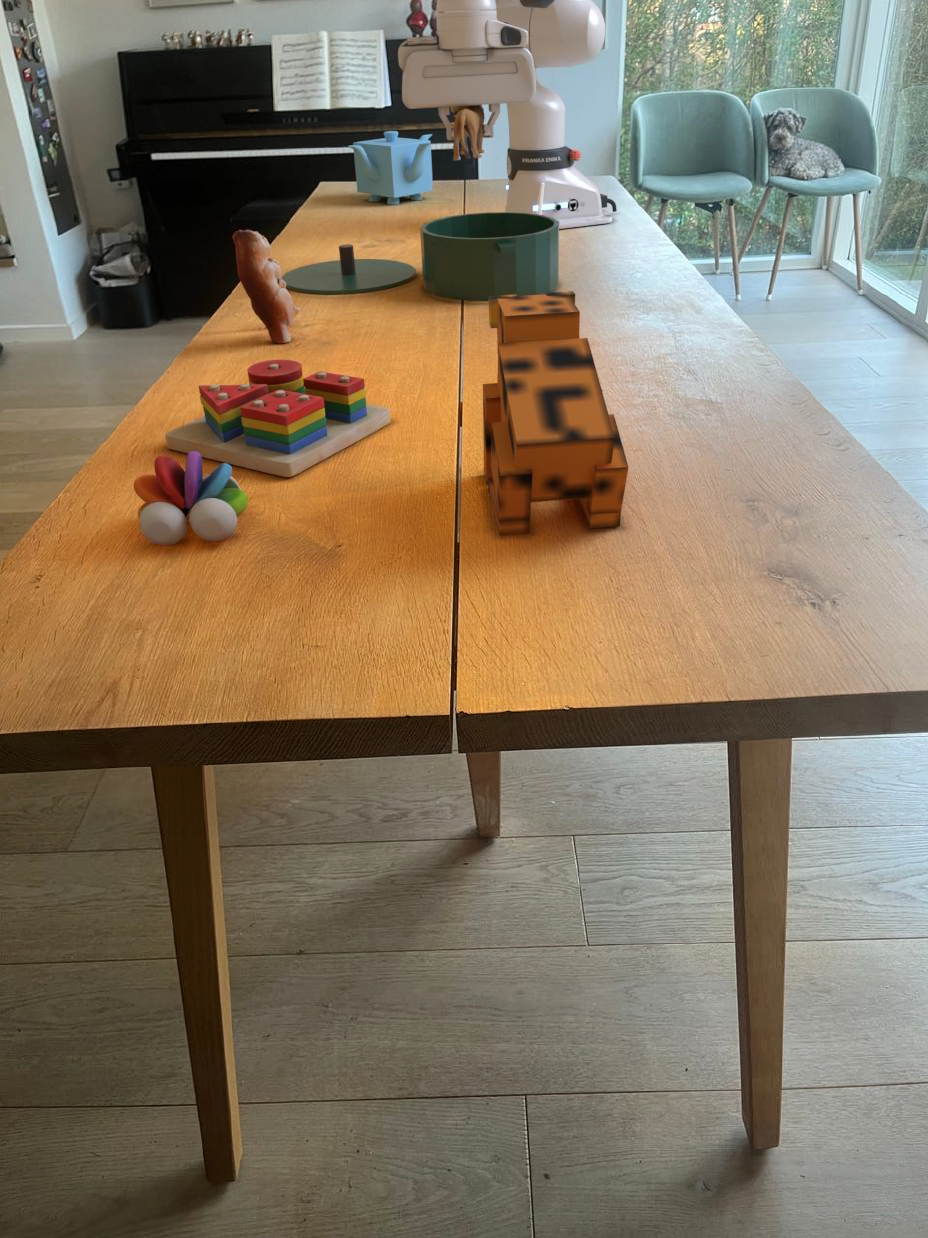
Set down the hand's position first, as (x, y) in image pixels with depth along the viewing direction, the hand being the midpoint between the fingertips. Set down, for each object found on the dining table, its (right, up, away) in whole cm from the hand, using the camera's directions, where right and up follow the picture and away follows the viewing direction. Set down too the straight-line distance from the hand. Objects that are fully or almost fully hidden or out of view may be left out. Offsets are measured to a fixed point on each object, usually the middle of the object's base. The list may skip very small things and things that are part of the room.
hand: (470, 138), depth 152 cm
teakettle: (-17, +25, +82) cm, 88 cm away
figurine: (-27, -35, -14) cm, 47 cm away
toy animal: (+7, -63, -60) cm, 87 cm away
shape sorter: (-21, -54, -45) cm, 74 cm away
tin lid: (-20, -17, +14) cm, 30 cm away
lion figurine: (-1, -2, +1) cm, 3 cm away
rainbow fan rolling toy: (-25, -66, -64) cm, 95 cm away
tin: (+3, -20, +7) cm, 22 cm away
